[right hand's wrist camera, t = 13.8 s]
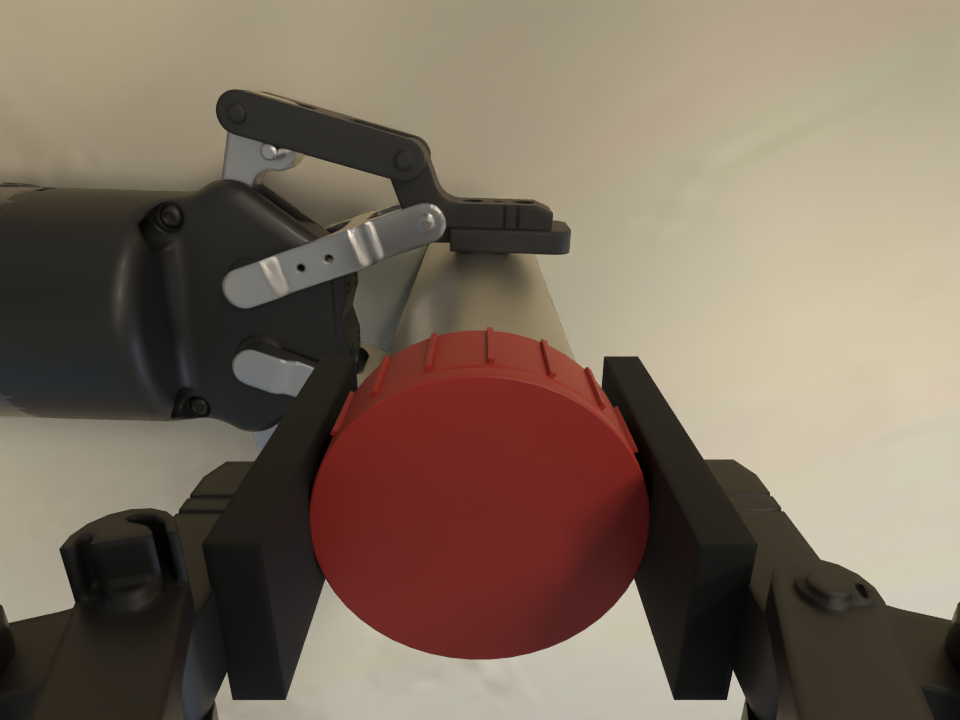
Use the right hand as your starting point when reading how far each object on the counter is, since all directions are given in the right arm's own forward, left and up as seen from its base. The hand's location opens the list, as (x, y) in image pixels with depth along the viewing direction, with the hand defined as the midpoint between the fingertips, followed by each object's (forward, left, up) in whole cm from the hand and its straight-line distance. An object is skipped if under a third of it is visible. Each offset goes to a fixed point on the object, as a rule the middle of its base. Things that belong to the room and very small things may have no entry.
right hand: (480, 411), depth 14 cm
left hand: (-1, +2, -7) cm, 7 cm away
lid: (0, 0, +4) cm, 4 cm away
